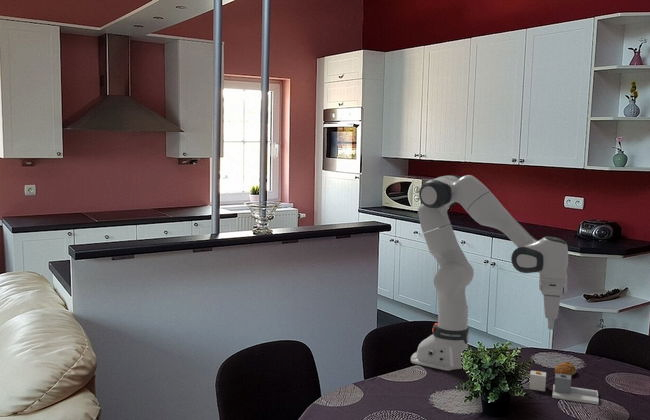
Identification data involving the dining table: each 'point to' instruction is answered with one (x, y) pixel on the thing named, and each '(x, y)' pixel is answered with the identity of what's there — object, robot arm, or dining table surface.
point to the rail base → (572, 391)
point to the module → (538, 380)
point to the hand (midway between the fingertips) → (551, 325)
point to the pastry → (565, 368)
